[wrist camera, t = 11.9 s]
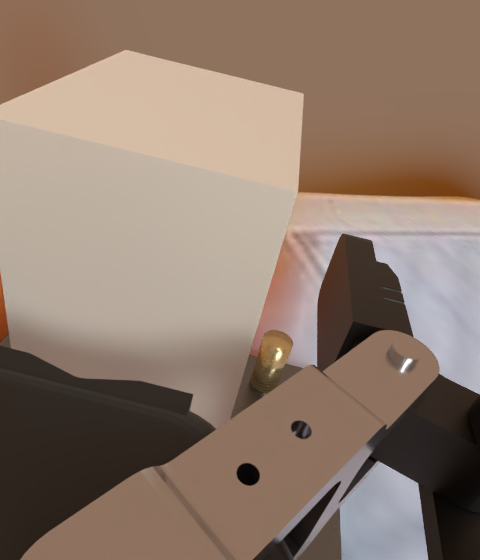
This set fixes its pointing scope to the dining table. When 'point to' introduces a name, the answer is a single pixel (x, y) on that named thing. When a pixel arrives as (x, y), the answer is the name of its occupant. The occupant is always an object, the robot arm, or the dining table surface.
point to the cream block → (146, 221)
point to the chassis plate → (254, 385)
